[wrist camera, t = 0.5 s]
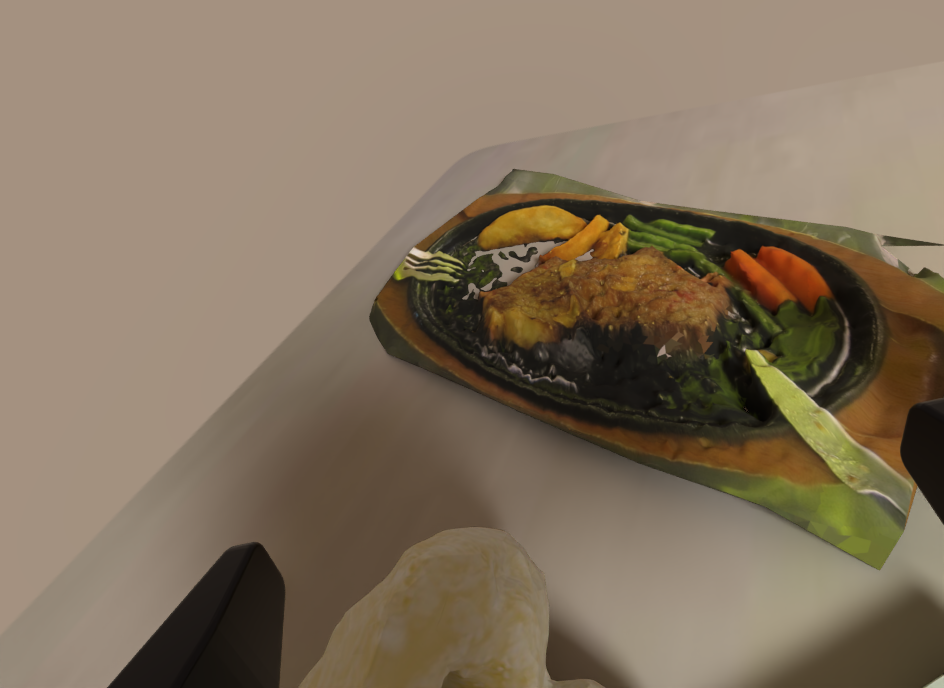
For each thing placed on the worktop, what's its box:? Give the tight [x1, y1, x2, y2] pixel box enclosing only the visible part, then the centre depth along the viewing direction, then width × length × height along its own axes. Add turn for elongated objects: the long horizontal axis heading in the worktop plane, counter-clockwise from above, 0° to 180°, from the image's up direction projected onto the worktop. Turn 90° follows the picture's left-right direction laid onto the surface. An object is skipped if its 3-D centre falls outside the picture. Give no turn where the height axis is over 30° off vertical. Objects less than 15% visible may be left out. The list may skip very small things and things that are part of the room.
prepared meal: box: [369, 169, 944, 570], centre depth 31 cm, size 28×4×18 cm
